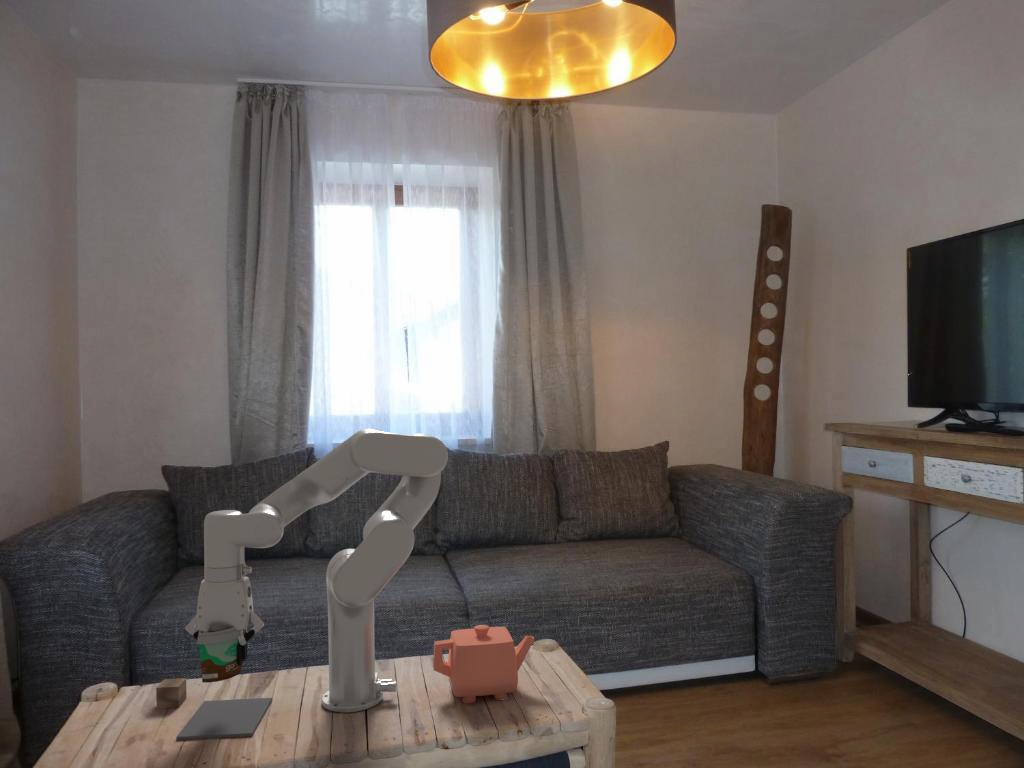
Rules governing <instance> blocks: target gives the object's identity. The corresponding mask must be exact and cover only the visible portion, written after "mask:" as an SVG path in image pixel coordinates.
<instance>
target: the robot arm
mask: <svg viewBox="0 0 1024 768" xmlns="http://www.w3.org/2000/svg"><path fill="white" fill-rule="evenodd" d="M448 460H449V453H448V449H447V447H446V445H445V443H444V442H443V441H442V440H441V439H439V438H438V437H435V436H432V435H430V434H429V435H428V434H426V433H414V434H402V433H394V432H393V433H392V432H387V431H386V432H385V431H380V430H377V429H374V428H364V429H363V428H362V429H360V430H358V431H357V432H355V433H354V434H352V435H351V436H350V437H348V438H347V439H345V440H344V441H342V442H341V443H339V445H337V446H335V448H333V449H332V450H331V451H329V452H328V453H326V454H325V455H324V456H323V457H321V458H320V459H318V460H317V461H316V462H315V463H313V464H312V465H310V466H309V467H307V468H306V469H304V470H303V471H301V472H300V473H299V474H298V475H296V476H295V477H293V478H292V479H290V480H289V481H286V483H284V484H283V485H281V486H280V487H279V488H278V489H275V490H274V491H273V492H272V493H271V494H269V495H268V496H266V497H265V498H264V499H262V500H261V501H259V502H258V503H256V505H255V506H253V507H252V508H251V509H250V510H249V512H248V513H242V512H241V511H240V510H235V509H223V510H215V511H212V512H209V513H207V514H206V515H205V517H204V520H203V538H204V539H203V547H204V550H203V552H204V553H203V556H204V557H203V558H204V559H203V561H204V563H203V564H204V566H203V567H204V569H203V571H204V574H203V575H204V579H202V580H201V582H200V587H199V592H198V598H197V605H196V606H197V607H196V614H195V615H194V617H193V618H192V619H191V620H190V621H189V622H188V624H186V625H185V627H184V629H185V631H186V632H187V633H189V634H190V635H192V636H193V638H194V639H195V640H196V641H197V639H198V633H207V632H216V631H222V630H226V629H230V628H233V627H235V630H238V631H240V634H241V636H239V637H238V640H239V645H238V646H237V665H242V666H243V663H244V662H245V661H246V660H247V659H248V642H249V641H250V640H251V639H252V638H253V637H254V635H256V634H257V633H258V632H259V631H260V630H262V629H263V627H264V625H265V622H264V621H263V620H262V619H261V618H260V617H259V615H257V614H256V612H254V602H253V594H252V592H253V591H252V586H251V581H250V577H249V576H246V575H248V574H252V571H253V567H252V566H248V565H247V564H246V561H245V548H252V549H253V548H254V549H267V548H271V547H273V546H276V544H278V543H279V542H280V541H281V539H282V538H283V536H284V532H285V527H287V526H288V525H289V524H290V523H291V522H293V521H294V520H296V519H297V518H298V517H300V516H301V515H303V514H304V513H305V512H307V511H308V510H310V509H312V508H315V507H316V506H319V505H324V504H327V503H329V502H332V501H333V500H335V499H336V498H338V497H340V495H342V494H343V493H345V492H346V491H347V490H348V489H349V488H351V487H352V486H353V485H355V484H356V483H357V482H359V481H360V480H361V479H362V478H364V477H365V476H367V475H368V474H370V473H374V474H383V475H389V476H390V475H392V476H393V475H394V476H402V477H401V480H400V482H399V483H398V485H397V486H396V487H395V489H394V490H393V492H392V493H391V494H390V495H389V497H387V499H386V500H385V501H384V502H383V503H382V504H381V505H380V507H379V508H378V509H377V510H376V511H375V512H374V513H373V515H371V516H370V517H369V519H368V520H367V521H366V522H365V525H364V527H363V531H362V538H363V540H362V541H361V542H360V543H359V545H358V546H357V547H356V548H345V549H342V550H340V551H338V552H336V554H334V555H333V556H332V558H331V559H330V561H329V562H328V565H327V568H326V574H325V579H326V580H325V581H326V593H327V595H326V596H327V597H326V598H327V599H326V600H327V619H328V620H327V621H328V622H327V624H328V628H327V632H328V633H327V634H328V636H327V637H328V683H329V684H328V685H329V688H328V689H329V690H326V692H324V693H323V694H322V697H321V705H322V707H323V708H325V709H327V710H328V711H332V712H335V713H355V712H361V711H364V710H368V709H371V708H374V707H375V706H376V705H378V704H379V703H381V702H382V700H383V698H384V693H385V692H387V693H396V692H397V681H392V678H385V679H381V678H379V673H378V672H376V656H375V651H376V649H375V601H374V600H375V598H376V597H377V596H378V594H380V592H381V591H382V590H383V589H384V588H385V586H387V584H389V582H390V581H391V579H393V577H395V575H396V574H397V572H398V571H399V570H400V569H401V567H403V565H404V564H405V562H406V561H407V560H408V558H409V557H410V556H411V553H412V551H413V549H414V545H415V541H416V540H415V532H414V529H415V528H416V526H417V525H418V524H419V523H420V522H421V521H422V519H423V518H424V517H425V515H426V514H427V513H428V511H429V510H430V509H431V507H432V505H433V504H434V502H435V501H436V499H437V496H438V494H439V491H440V487H441V482H442V481H441V480H442V478H441V477H442V471H443V470H444V469H445V467H446V466H447V464H448V462H449V461H448ZM250 624H253V627H252V628H250V629H249V631H248V626H249V625H250ZM243 630H246V633H243Z"/></svg>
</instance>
